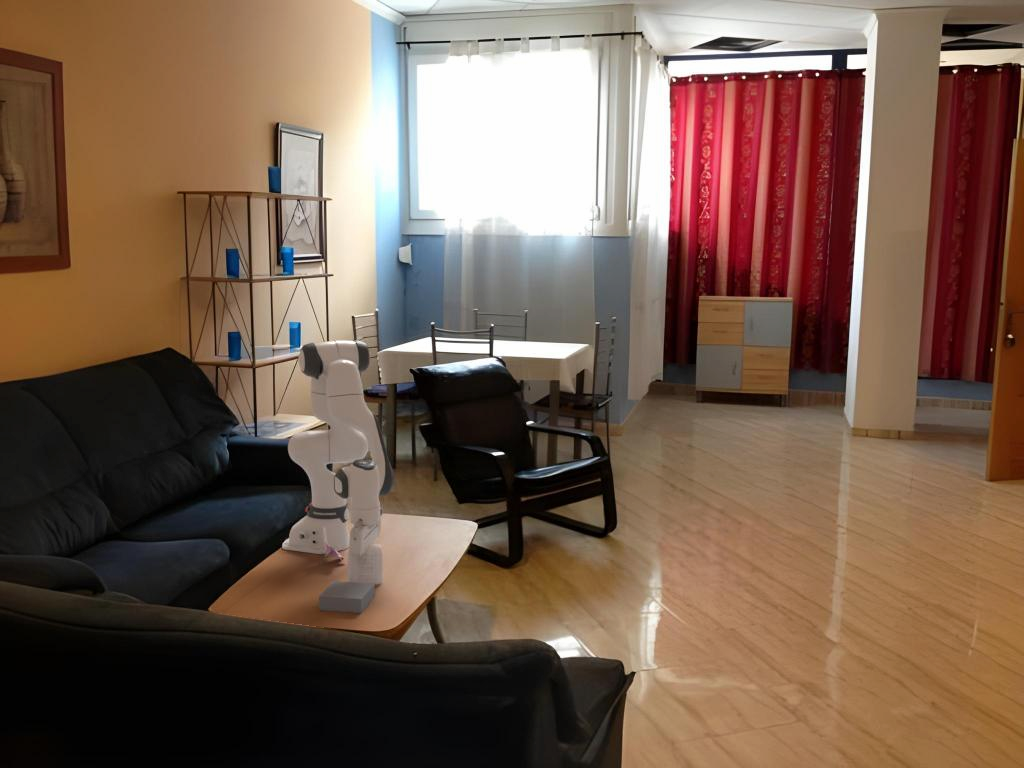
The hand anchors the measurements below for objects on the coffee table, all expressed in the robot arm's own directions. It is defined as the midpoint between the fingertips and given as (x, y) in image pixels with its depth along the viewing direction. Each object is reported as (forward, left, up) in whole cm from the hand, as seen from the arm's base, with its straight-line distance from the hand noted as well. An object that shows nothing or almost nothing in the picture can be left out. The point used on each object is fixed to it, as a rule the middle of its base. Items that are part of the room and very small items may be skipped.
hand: (365, 560), depth 270 cm
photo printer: (0, 0, -7) cm, 7 cm away
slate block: (0, -16, -7) cm, 18 cm away
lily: (-18, +13, -8) cm, 23 cm away
